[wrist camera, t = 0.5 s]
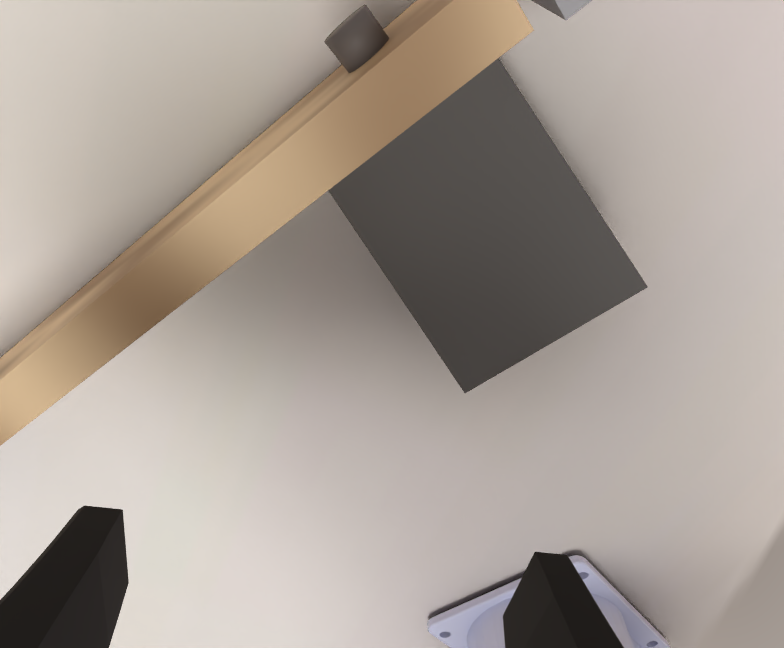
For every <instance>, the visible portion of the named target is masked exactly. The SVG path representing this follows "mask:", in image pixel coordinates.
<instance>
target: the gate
mask: <svg viewBox="0 0 784 648" xmlns="http://www.w3.org/2000/svg"><path fill="white" fill-rule="evenodd" d="M532 31H534V29H533V28H532V26H531V24H530V23H529V21H528V19H527V18H526V16H525V14H524V12H523V11H522V9H521V7H520V6H519V4H518V2H517V0H417V1H416V2H414V3H413V4H412V5H411V6H410V7H409V8H407V9H406V10H405V11H404V12H403V13H402V14H400V15H399V16H398V17H397V18H396V19H395V20H393V21H392V22H391V23H390V24H389V25H388V26H387V27H385V28H384V29H383V28H382V27H381V26H380V24H379V23H378V21H377V20H376V19H375V17H374V16H373V14H372V13H371V12H370V10H369V9H368V7H367V6H366V5H363V6H362V7H360V8H359V9H358V10H356V11H355V12H354V13H353V14H352V15H350V16H349V17H348V18H347V19H346V20H345V21H343V22H342V23H341V24H340V25H339V26H338V27H337V28H336V29H335V30H334V31H333V32H332V33H331V34H330V35H329V36H328V37H327V39H326V40H325V43H326V44H327V46H328V47H329V48H330V49H331V51H332V52H333V53H334V55H335V56H336V57H337V59H338V60H339V61H340V62H341V64H342V65H341V66H340V67H339V68H338V69H336V70H335V71H334V72H333V73H332V74H331V75H329V76H328V77H327V78H326V79H325V80H324V81H322V82H321V83H320V84H319V85H318V86H317V87H315V88H314V89H313V90H312V91H311V92H310V93H308V94H307V95H306V96H305V97H304V98H303V99H301V100H300V101H299V102H298V103H297V104H296V105H295V106H293V107H292V108H291V109H290V110H289V111H288V112H286V113H285V114H284V115H283V116H282V117H281V118H279V119H278V120H277V121H276V122H275V123H274V124H272V125H271V126H270V127H269V128H268V129H267V130H265V131H264V132H263V133H262V134H261V135H260V136H258V137H257V138H256V139H255V140H254V141H253V142H251V143H250V144H249V145H248V146H247V147H246V148H244V149H243V150H242V151H241V152H240V153H239V154H237V155H236V156H235V157H234V158H233V159H232V160H230V161H229V162H228V163H227V164H226V165H225V166H223V167H222V168H221V169H220V170H219V171H218V172H216V173H215V174H214V175H213V176H212V177H211V178H209V179H208V180H207V181H206V182H205V183H204V184H203V185H201V186H200V187H199V188H198V189H197V190H196V191H194V192H193V193H192V194H191V195H190V196H189V197H187V198H186V199H185V200H184V201H183V202H182V203H180V204H179V205H178V206H177V207H176V208H175V209H173V210H172V211H171V212H170V213H169V214H168V215H166V216H165V217H164V218H163V219H162V220H161V221H159V222H158V223H157V224H156V225H155V226H154V227H152V228H151V229H150V230H149V231H148V232H147V233H145V234H144V235H143V236H142V237H141V238H140V239H138V240H137V241H136V242H135V243H134V244H133V245H131V246H130V247H129V248H128V249H127V250H126V251H124V252H123V253H122V254H121V255H120V256H119V257H118V258H116V259H115V260H114V261H113V262H112V263H111V264H109V265H108V266H107V267H106V268H105V269H104V270H102V271H101V272H100V273H99V274H98V275H97V276H95V277H94V278H93V279H92V280H91V281H90V282H88V283H87V284H86V285H85V286H84V287H83V288H81V289H80V290H79V291H78V292H77V293H76V294H74V295H73V296H72V297H71V298H70V299H69V300H67V301H66V302H65V303H64V304H63V305H62V306H60V307H59V308H58V309H57V310H56V311H55V312H53V313H52V314H51V315H50V316H49V317H48V318H46V319H45V320H44V321H43V322H42V323H41V324H39V325H38V326H37V327H36V328H35V329H34V330H32V331H31V332H30V333H29V334H28V335H27V336H26V337H24V338H23V339H22V340H21V341H20V342H19V343H17V344H16V345H15V346H14V347H13V348H12V349H10V350H9V351H8V352H7V353H6V354H5V355H3V356H2V357H1V358H0V445H2V444H3V443H4V442H6V441H7V440H8V439H9V438H11V437H12V436H13V435H15V434H16V433H17V432H18V431H20V430H21V429H22V428H24V427H25V426H26V425H27V424H29V423H30V422H31V421H33V420H34V419H35V418H36V417H38V416H39V415H40V414H42V413H43V412H44V411H45V410H47V409H48V408H49V407H51V406H52V405H53V404H54V403H56V402H57V401H58V400H60V399H61V398H62V397H63V396H65V395H66V394H67V393H69V392H70V391H71V390H72V389H74V388H75V387H76V386H78V385H79V384H80V383H81V382H83V381H84V380H85V379H87V378H88V377H89V376H90V375H92V374H93V373H94V372H96V371H97V370H98V369H99V368H101V367H102V366H103V365H105V364H106V363H107V362H108V361H110V360H111V359H112V358H114V357H115V356H116V355H117V354H119V353H120V352H121V351H123V350H124V349H125V348H126V347H128V346H129V345H130V344H132V343H133V342H134V341H135V340H137V339H138V338H139V337H140V336H142V335H143V334H144V333H146V332H147V331H148V330H149V329H151V328H152V327H153V326H155V325H156V324H157V323H158V322H160V321H161V320H162V319H164V318H165V317H166V316H167V315H169V314H170V313H171V312H173V311H174V310H175V309H176V308H178V307H179V306H180V305H182V304H183V303H184V302H185V301H187V300H188V299H189V298H191V297H192V296H193V295H194V294H196V293H197V292H198V291H200V290H201V289H202V288H203V287H205V286H206V285H207V284H209V283H210V282H211V281H212V280H214V279H215V278H216V277H218V276H219V275H220V274H221V273H223V272H224V271H225V270H227V269H228V268H229V267H230V266H232V265H233V264H234V263H236V262H237V261H238V260H239V259H241V258H242V257H243V256H245V255H246V254H247V253H248V252H250V251H251V250H252V249H254V248H255V247H256V246H257V245H259V244H260V243H261V242H263V241H264V240H265V239H266V238H268V237H269V236H270V235H272V234H273V233H274V232H275V231H277V230H278V229H279V228H281V227H282V226H283V225H284V224H286V223H287V222H288V221H290V220H291V219H292V218H293V217H295V216H296V215H297V214H299V213H300V212H301V211H302V210H304V209H305V208H306V207H308V206H309V205H310V204H311V203H313V202H314V201H315V200H317V199H318V198H319V197H320V196H322V195H323V194H324V193H326V192H327V191H328V190H329V189H331V188H332V187H333V186H334V185H336V184H337V183H338V182H340V181H341V180H342V179H343V178H345V177H346V176H347V175H349V174H350V173H351V172H352V171H354V170H355V169H356V168H358V167H359V166H360V165H361V164H363V163H364V162H365V161H367V160H368V159H369V158H370V157H372V156H373V155H374V154H376V153H377V152H378V151H379V150H381V149H382V148H383V147H385V146H386V145H387V144H388V143H390V142H391V141H392V140H394V139H395V138H396V137H397V136H399V135H400V134H401V133H403V132H404V131H405V130H406V129H408V128H409V127H410V126H412V125H413V124H414V123H415V122H417V121H418V120H419V119H421V118H422V117H423V116H424V115H426V114H427V113H428V112H430V111H431V110H432V109H433V108H435V107H436V106H437V105H439V104H440V103H441V102H442V101H444V100H445V99H446V98H448V97H449V96H450V95H451V94H453V93H454V92H455V91H457V90H458V89H459V88H460V87H462V86H463V85H464V84H466V83H467V82H468V81H469V80H471V79H472V78H473V77H475V76H476V75H477V74H478V73H480V72H481V71H482V70H484V69H485V68H486V67H487V66H489V65H490V64H491V63H493V62H494V61H495V60H496V59H498V58H499V57H500V56H502V55H503V54H504V53H505V52H507V51H508V50H509V49H511V48H512V47H513V46H514V45H516V44H517V43H518V42H519V41H521V40H522V39H523V38H525V37H526V36H527V35H528V34H530V33H531V32H532Z"/></svg>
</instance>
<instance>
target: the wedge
mask: <svg viewBox="0 0 784 648" xmlns="http://www.w3.org/2000/svg"><path fill="white" fill-rule="evenodd" d="M329 192H330V193H331V195H332V196H333V198H334V199H335V201H336V202H337V204H338V205H339V207H340V208H341V210H342V211H343V213H344V214H345V216H346V217H347V219H348V220H349V222H350V223H351V225H352V226H353V228H354V229H355V231H356V232H357V234H358V235H359V237H360V238H361V239H362V241H363V242H364V244H365V245H366V247H367V248H368V250H369V251H370V253H371V254H372V256H373V257H374V259H375V260H376V262H377V263H378V265H379V266H380V268H381V269H382V271H383V272H384V274H385V275H386V277H387V278H388V280H389V281H390V283H391V284H392V286H393V287H394V289H395V290H396V292H397V293H398V294H399V296H400V297H401V299H402V300H403V302H404V303H405V305H406V306H407V308H408V309H409V311H410V312H411V314H412V315H413V317H414V318H415V320H416V321H417V323H418V324H419V326H420V327H421V329H422V330H423V332H424V333H425V335H426V336H427V338H428V339H429V341H430V342H431V344H432V345H433V347H434V348H435V349H436V351H437V352H438V354H439V355H440V357H441V358H442V360H443V361H444V363H445V364H446V366H447V367H448V369H449V370H450V372H451V373H452V375H453V376H454V378H455V379H456V381H457V382H458V384H459V385H460V387H461V388H462V390H463V391H464V393H466V392H468V391H470V390H472V389H473V388H475V387H477V386H478V385H480V384H482V383H484V382H485V381H487V380H489V379H490V378H492V377H494V376H496V375H497V374H499V373H501V372H503V371H504V370H506V369H508V368H509V367H511V366H513V365H515V364H516V363H518V362H520V361H521V360H523V359H525V358H527V357H528V356H530V355H532V354H534V353H535V352H537V351H539V350H540V349H542V348H544V347H546V346H547V345H549V344H551V343H552V342H554V341H556V340H558V339H559V338H561V337H563V336H564V335H566V334H568V333H570V332H571V331H573V330H575V329H577V328H578V327H580V326H582V325H583V324H585V323H587V322H589V321H590V320H592V319H594V318H595V317H597V316H599V315H601V314H602V313H604V312H606V311H607V310H609V309H611V308H613V307H614V306H616V305H618V304H620V303H621V302H623V301H625V300H626V299H628V298H630V297H632V296H633V295H635V294H637V293H638V292H640V291H642V290H644V289H645V288H647V285H646V284H645V282H644V281H643V279H642V278H641V276H640V274H639V273H638V271H637V270H636V268H635V267H634V265H633V264H632V262H631V261H630V259H629V258H628V256H627V255H626V253H625V252H624V250H623V248H622V247H621V245H620V244H619V242H618V241H617V239H616V238H615V236H614V235H613V233H612V232H611V230H610V229H609V227H608V226H607V224H606V222H605V221H604V219H603V218H602V216H601V215H600V213H599V212H598V210H597V209H596V207H595V206H594V204H593V203H592V201H591V200H590V198H589V196H588V195H587V193H586V192H585V190H584V189H583V187H582V186H581V184H580V183H579V181H578V180H577V178H576V177H575V175H574V174H573V172H572V170H571V169H570V167H569V166H568V164H567V163H566V161H565V160H564V158H563V157H562V155H561V154H560V152H559V151H558V149H557V148H556V146H555V145H554V143H553V141H552V140H551V138H550V137H549V135H548V134H547V132H546V131H545V129H544V128H543V126H542V125H541V123H540V122H539V120H538V119H537V117H536V115H535V114H534V112H533V111H532V109H531V108H530V106H529V105H528V103H527V102H526V100H525V99H524V97H523V96H522V94H521V93H520V91H519V89H518V88H517V86H516V85H515V83H514V82H513V80H512V79H511V77H510V76H509V74H508V73H507V71H506V70H505V68H504V67H503V65H502V63H501V62H500V60H499V59H496V60H495V61H494V62H493V63H491V64H490V65H489V66H487V67H486V68H485V69H484V70H482V71H481V72H480V73H478V74H477V75H476V76H475V77H473V78H472V79H471V80H469V81H468V82H467V83H466V84H464V85H463V86H462V87H460V88H459V89H458V90H457V91H455V92H454V93H453V94H451V95H450V96H449V97H448V98H446V99H445V100H444V101H442V102H441V103H440V104H439V105H437V106H436V107H435V108H433V109H432V110H431V111H430V112H428V113H427V114H426V115H424V116H423V117H422V118H421V119H419V120H418V121H417V122H415V123H414V124H413V125H412V126H410V127H409V128H408V129H406V130H405V131H404V132H403V133H401V134H400V135H399V136H397V137H396V138H395V139H394V140H392V141H391V142H390V143H388V144H387V145H386V146H385V147H383V148H382V149H381V150H379V151H378V152H377V153H376V154H374V155H373V156H372V157H370V158H369V159H368V160H367V161H365V162H364V163H363V164H361V165H360V166H359V167H358V168H356V169H355V170H354V171H352V172H351V173H350V174H349V175H347V176H346V177H345V178H343V179H342V180H341V181H340V182H338V183H337V184H336V185H334V186H333V187H332V188H331V189H329Z"/></svg>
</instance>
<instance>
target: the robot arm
mask: <svg viewBox="0 0 784 648" xmlns="http://www.w3.org/2000/svg"><path fill="white" fill-rule="evenodd" d="M127 586H128V570H127V558H126V545H125V533H124V521H123V510H121V509H112V508H102V507H92V506H83V507H82V508H80V509H78V510H77V512H76V513H75V514H74V515H73V517H72V518H71V519H70V520H69V522H68V523H67V524H66V525H65V527H64V528H63V529H62V530H61V531H60V533H59V534H58V535H57V536H56V537H55V539H54V540H53V541H52V542H51V543H50V545H49V546H48V547H47V548H46V549H45V551H44V552H43V553H42V554H41V555H40V556H39V558H38V559H37V560H36V561H35V562H34V563H33V564H32V566H31V567H30V568H29V569H28V570H27V571H26V572H25V573H24V575H23V576H22V577H21V578H20V579H19V580H18V581H17V583H16V584H15V585H14V586H13V587H12V588H11V589H10V590H9V591H8V592H7V593H6V595H5V596H4V597H3V598H2V599H1V600H0V648H109V645H110V642H111V639H112V636H113V632H114V629H115V626H116V623H117V620H118V616H119V613H120V610H121V606H122V603H123V599H124V596H125V593H126V589H127ZM427 625H428V631H429V633H431V634H432V635H433V636H435V637H436V638H438V639H439V640H440V641H442V642H443V643H445V644H446V645H447V646H449V647H450V648H670V646H669V643H668V641H667V640H666V639H665V638H664V637H663V636H662V635H661V634H660V633H659V632H658V631H657V630H656V629H655V628H654V627H653V626H652V625H651V624H650V623H649V622H648V621H647V620H646V619H645V618H644V617H643V616H642V615H641V614H640V613H639V612H638V611H637V610H636V609H635V608H634V607H633V606H632V605H631V604H630V603H629V602H628V601H627V600H626V599H625V598H624V597H623V596H622V595H621V594H620V593H619V592H618V591H617V590H616V589H615V588H614V587H613V586H612V585H611V584H610V583H609V582H608V581H607V580H606V579H605V578H604V577H603V576H602V575H601V574H600V573H599V572H598V571H597V570H596V569H595V568H594V567H593V566H592V565H591V564H590V563H589V562H588V561H587V560H586V559H585V558H584V557H582V556H579V555H573V556H570V557H568V556H567V555H561V554H551V553H541V552H535V553H534V555H533V557H532V559H531V561H530V563H529V565H528V567H527V569H526V571H525V573H524V575H523V577H522V578H520V579H518V580H515V581H513V582H511V583H509V584H506V585H504V586H502V587H500V588H497V589H495V590H493V591H491V592H488V593H486V594H484V595H482V596H479V597H477V598H475V599H473V600H470V601H468V602H466V603H464V604H461V605H459V606H457V607H455V608H452V609H450V610H448V611H446V612H443V613H441V614H439V615H437V616H434V617H432V618H431V619H429V620H428V622H427Z"/></svg>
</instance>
